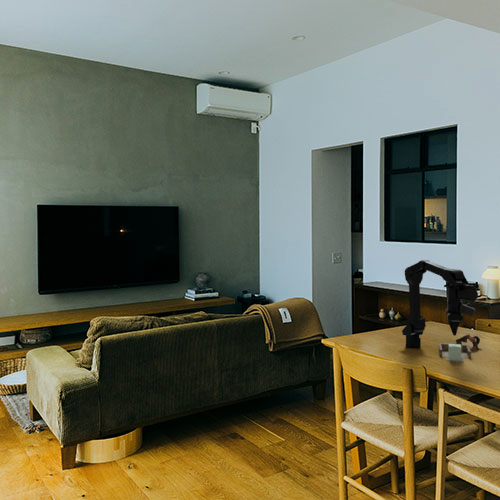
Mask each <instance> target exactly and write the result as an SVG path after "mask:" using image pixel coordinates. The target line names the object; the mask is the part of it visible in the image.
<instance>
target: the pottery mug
mask: <svg viewBox="0 0 500 500" xmlns="http://www.w3.org/2000/svg"><path fill="white" fill-rule="evenodd" d="M468 340H469V342H471V343H472V347H471V348H470V349H471V351H473V352H475V351H479V346H478V345H479V344H480V343H481V342H480V341H481V339H480V337H479V336H478V335H473V336H471V334H470V333H469V334H466V335H464V336H462V337H460V338H456V339H455V344H460V345H463V343H464V344H466V343H468Z"/></svg>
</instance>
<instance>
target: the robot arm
mask: <svg viewBox="0 0 500 500" xmlns="http://www.w3.org/2000/svg"><path fill="white" fill-rule="evenodd" d="M427 272H430V273H432V274H434V275H436V276H440V277H441V278H442V280H443V281H445V282H446V283H445V284H444V285H443V287H444V288H447V299H446V300H447V301H446V303H447V306H446V309H445V316H446V319H447V322H448V325H449V327H450V330H451V333H452V335H453V336H457V332H458V330H459V329H458V328H459V325H460V324H461V323H463V322H464V315H463V313H464V314H467V315H469V316H470V317H474V314H475V312H476V308H474V307H473V305H472V304H471V303H469V302H476V301H477V299H478V298H479V292H478V290H477V288H475V287H476V286H475V285H473V284H471V285H470V283H469V281H468V280H467V278H466V276H465V274H464V271H462V270H461V269H458V268H450V267H449V268H448V267H445V266H443V265H440V264H439V263H435V262H433V261H431V260H429V259H421V260H419V261H418V262H416V263H414V264H412V265H410V266H408V267H406V268H405V269H404V278H405V281H406V282H407V285H408V295H409V297H408V298H409V299H408V300H409V301H408V302H409V314H408V317H407V319H406V325H405V326H404V328H402V330H401V333H402V336H405V349H418V350H419V349H420V348H421V344H422V343H421V337H420V336H423V333H424V331H425V328H426V327H427V326H426V318H425V317H423V315H421V291H420V290H421V289H420V287H421V286H420V285H421V284H422V281H423V279H424V278H423V277H424V274H425V273H427ZM463 301H469V302H468V303H467V304H465V303H463Z"/></svg>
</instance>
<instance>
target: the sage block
mask: <svg viewBox="0 0 500 500" xmlns="http://www.w3.org/2000/svg"><path fill="white" fill-rule="evenodd" d="M448 344H449V348H448V358H449V360H457V361H461V345H459V344H456V343H455V344H454V343H448Z"/></svg>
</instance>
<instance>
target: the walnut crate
mask: <svg viewBox="0 0 500 500" xmlns="http://www.w3.org/2000/svg"><path fill="white" fill-rule="evenodd" d="M449 344H450V343H440V342H439V343H438V354H439V357H445V358H446V356H447V357H448V348H449ZM459 345H460V344H459ZM461 357H462V358H463V359H471V358H472V349H471V348H470V346H469V344H462V345H461Z"/></svg>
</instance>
